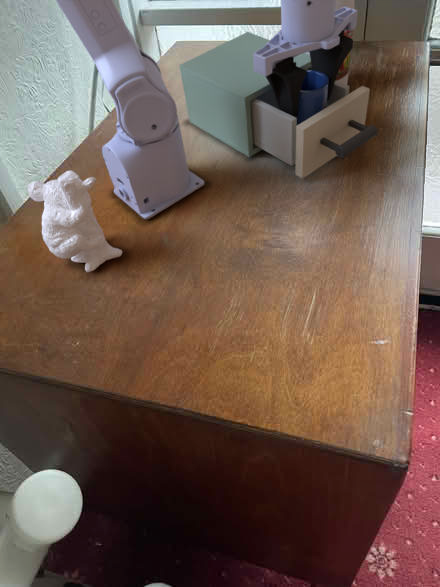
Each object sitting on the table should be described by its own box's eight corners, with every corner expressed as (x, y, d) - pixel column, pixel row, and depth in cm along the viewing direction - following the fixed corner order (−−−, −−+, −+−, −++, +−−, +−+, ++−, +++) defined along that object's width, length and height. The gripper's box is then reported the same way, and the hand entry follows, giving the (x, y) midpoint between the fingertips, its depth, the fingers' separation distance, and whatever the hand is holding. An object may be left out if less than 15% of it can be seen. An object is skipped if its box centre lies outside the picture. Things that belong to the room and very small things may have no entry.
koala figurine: (138, 244, 55) (107, 157, 45) (109, 286, 51) (69, 201, 42) (79, 230, 57) (39, 146, 48) (48, 269, 54) (-3, 186, 44)
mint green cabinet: (314, 118, 67) (317, 57, 60) (249, 157, 63) (244, 97, 56) (251, 88, 74) (247, 31, 67) (189, 122, 70) (179, 65, 63)
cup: (305, 135, 57) (307, 97, 53) (275, 120, 60) (275, 82, 56) (334, 117, 59) (338, 79, 55) (304, 103, 61) (305, 65, 58)
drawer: (387, 149, 59) (397, 99, 54) (325, 192, 55) (330, 142, 50) (294, 106, 68) (295, 59, 62) (236, 140, 64) (231, 93, 59)
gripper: (285, 19, 43) (285, 146, 53) (386, -30, 48) (368, 95, 58) (236, 3, 47) (245, 124, 57) (334, -42, 52) (326, 78, 62)
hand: (304, 108), depth 58 cm, fingers closed on cup, 5 cm apart
